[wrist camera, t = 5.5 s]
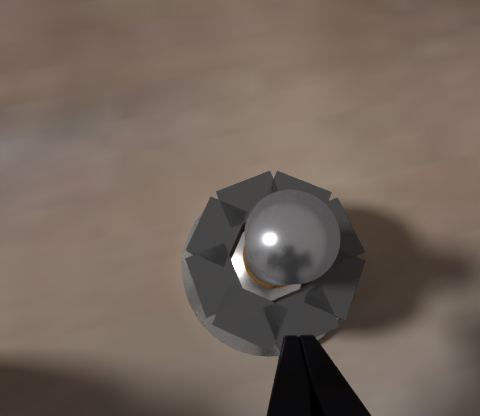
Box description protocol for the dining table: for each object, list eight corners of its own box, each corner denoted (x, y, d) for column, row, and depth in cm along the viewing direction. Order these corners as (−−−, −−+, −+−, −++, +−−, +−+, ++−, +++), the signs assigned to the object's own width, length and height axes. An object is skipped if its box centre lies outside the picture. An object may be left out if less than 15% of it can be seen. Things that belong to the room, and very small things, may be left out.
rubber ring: (314, 364, 16) (326, 377, 14) (173, 299, 17) (161, 301, 15) (363, 222, 18) (381, 211, 15) (233, 170, 19) (231, 152, 16)
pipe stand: (315, 383, 20) (427, 539, 7) (157, 309, 21) (32, 340, 9) (369, 222, 22) (521, 142, 10) (224, 165, 23) (201, 31, 11)
